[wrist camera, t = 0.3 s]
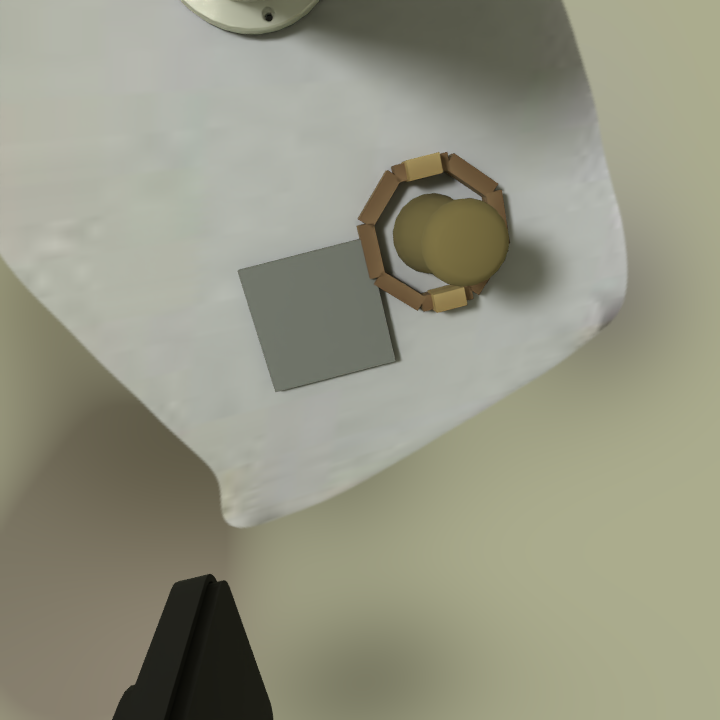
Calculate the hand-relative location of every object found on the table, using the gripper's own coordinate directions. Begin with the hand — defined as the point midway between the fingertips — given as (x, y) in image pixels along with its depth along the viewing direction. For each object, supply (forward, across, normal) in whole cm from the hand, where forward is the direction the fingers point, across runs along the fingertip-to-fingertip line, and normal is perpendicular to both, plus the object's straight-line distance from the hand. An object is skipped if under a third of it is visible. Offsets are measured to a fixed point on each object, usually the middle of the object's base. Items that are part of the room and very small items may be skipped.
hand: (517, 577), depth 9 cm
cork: (+34, -6, -3) cm, 35 cm away
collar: (+34, -6, -3) cm, 35 cm away
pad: (+34, +4, +2) cm, 34 cm away
